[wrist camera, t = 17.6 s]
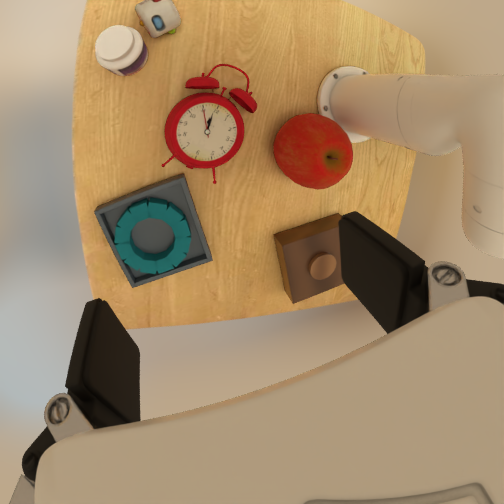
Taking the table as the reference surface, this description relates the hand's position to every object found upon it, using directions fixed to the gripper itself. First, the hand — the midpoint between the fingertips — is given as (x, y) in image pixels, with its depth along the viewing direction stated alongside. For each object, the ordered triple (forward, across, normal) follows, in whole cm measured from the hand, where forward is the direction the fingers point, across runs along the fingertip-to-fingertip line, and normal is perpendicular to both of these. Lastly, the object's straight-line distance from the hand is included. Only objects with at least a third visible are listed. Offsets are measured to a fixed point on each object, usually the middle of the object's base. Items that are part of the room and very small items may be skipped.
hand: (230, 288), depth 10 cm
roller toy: (+31, -1, -20) cm, 36 cm away
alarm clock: (+31, -4, -4) cm, 31 cm away
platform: (+30, -15, +22) cm, 40 cm away
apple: (+30, -16, +3) cm, 34 cm away
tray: (+30, +8, +9) cm, 33 cm away
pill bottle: (+31, +4, -16) cm, 35 cm away
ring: (+30, +8, +9) cm, 32 cm away
